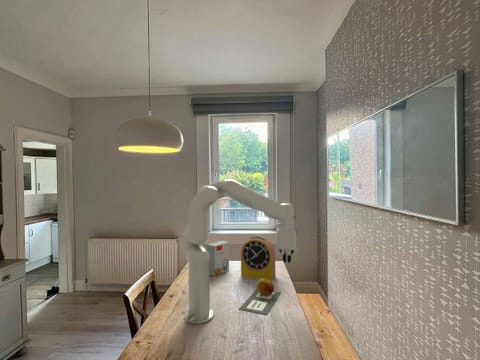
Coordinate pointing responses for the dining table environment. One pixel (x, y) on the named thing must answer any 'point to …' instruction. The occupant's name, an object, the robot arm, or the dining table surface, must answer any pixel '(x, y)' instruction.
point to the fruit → (265, 286)
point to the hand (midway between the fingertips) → (286, 262)
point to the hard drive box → (218, 257)
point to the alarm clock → (258, 258)
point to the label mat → (260, 302)
